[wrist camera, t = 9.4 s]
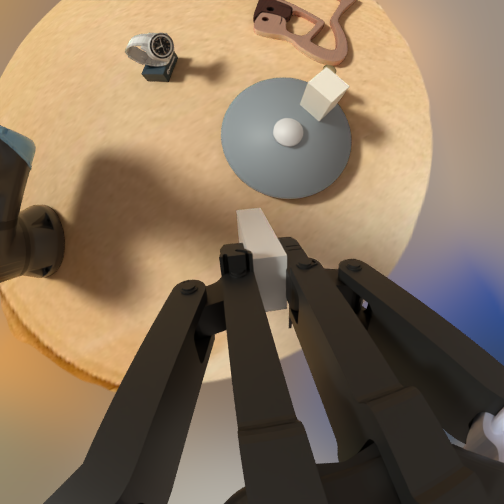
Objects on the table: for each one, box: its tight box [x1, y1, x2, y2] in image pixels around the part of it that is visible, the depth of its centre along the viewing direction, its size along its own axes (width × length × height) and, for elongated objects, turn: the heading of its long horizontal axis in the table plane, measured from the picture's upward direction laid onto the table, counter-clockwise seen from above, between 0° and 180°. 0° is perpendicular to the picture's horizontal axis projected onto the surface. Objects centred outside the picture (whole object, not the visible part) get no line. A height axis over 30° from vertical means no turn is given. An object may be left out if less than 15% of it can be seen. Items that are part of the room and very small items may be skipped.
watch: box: [125, 33, 178, 82], centre depth 34 cm, size 6×8×11 cm
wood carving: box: [253, 0, 356, 65], centre depth 36 cm, size 28×2×24 cm
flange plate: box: [221, 67, 351, 199], centre depth 34 cm, size 24×20×9 cm
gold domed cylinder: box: [323, 65, 336, 74], centre depth 35 cm, size 2×2×7 cm
